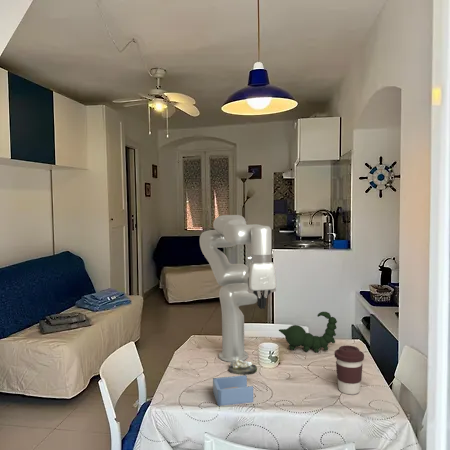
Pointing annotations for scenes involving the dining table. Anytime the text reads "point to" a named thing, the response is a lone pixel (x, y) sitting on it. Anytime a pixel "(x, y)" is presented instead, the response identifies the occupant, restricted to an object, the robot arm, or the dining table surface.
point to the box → (232, 390)
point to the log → (242, 367)
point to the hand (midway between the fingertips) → (261, 307)
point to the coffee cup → (349, 369)
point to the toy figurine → (310, 335)
